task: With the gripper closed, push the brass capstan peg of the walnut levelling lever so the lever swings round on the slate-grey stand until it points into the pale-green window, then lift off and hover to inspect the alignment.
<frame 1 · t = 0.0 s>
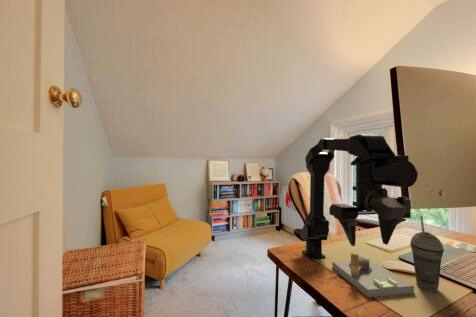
hand: (369, 244, 53), 15 cm above the table, fingers open, 9 cm apart
beverage cup: (427, 287, 60), on the table
cam lever: (358, 259, 65), point 5 cm above the table, hinge at -50.0°
stand base: (368, 278, 64), on the table
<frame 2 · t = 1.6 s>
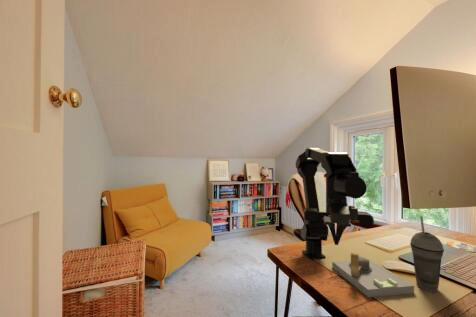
hand: (336, 244, 63), 11 cm above the table, fingers closed
nothing on the table moved.
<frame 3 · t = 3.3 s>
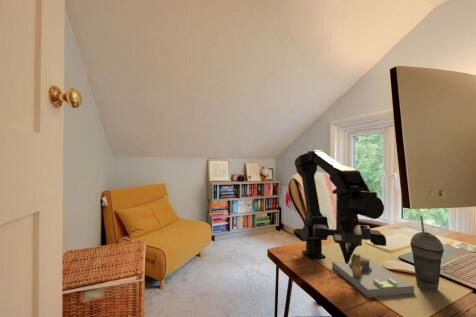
hand: (346, 263, 62), 6 cm above the table, fingers closed
cam lever: (358, 259, 64), point 5 cm above the table, hinge at -46.1°, touching gripper
everything else where it was.
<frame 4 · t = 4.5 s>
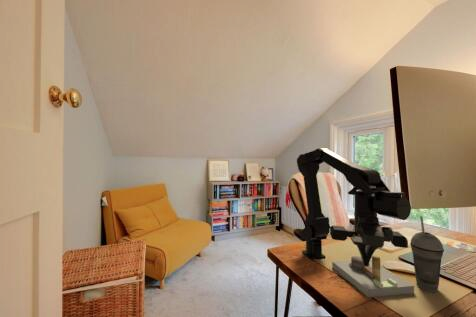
hand: (365, 265, 60), 6 cm above the table, fingers closed
cam lever: (366, 260, 64), point 5 cm above the table, hinge at -3.7°, touching gripper
everything else where it was.
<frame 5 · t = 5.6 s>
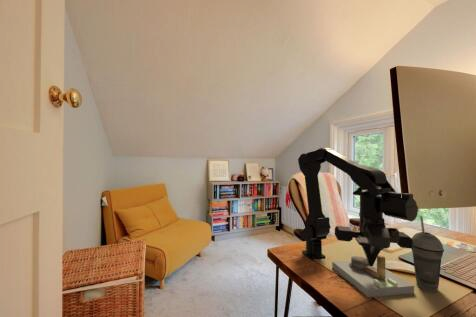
hand: (370, 265, 61), 6 cm above the table, fingers closed
cam lever: (367, 260, 64), point 5 cm above the table, hinge at 10.0°, touching gripper
everything else where it was.
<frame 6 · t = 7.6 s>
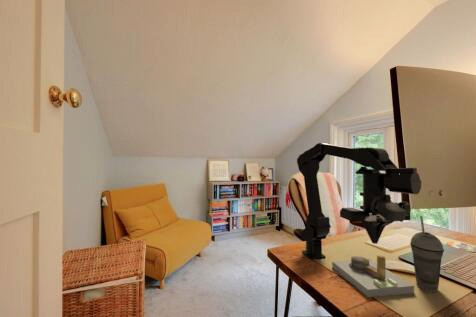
hand: (374, 243, 61), 12 cm above the table, fingers closed
cam lever: (367, 260, 64), point 5 cm above the table, hinge at 10.2°
everything else where it was.
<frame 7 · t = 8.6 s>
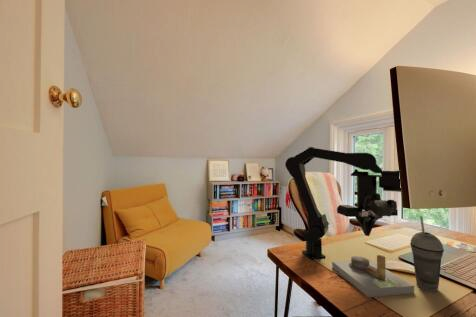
hand: (366, 235, 70), 11 cm above the table, fingers closed
nothing on the table moved.
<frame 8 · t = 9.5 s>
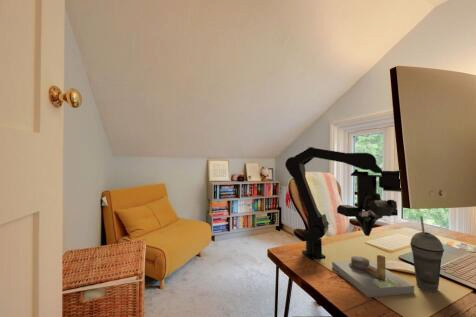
hand: (366, 235, 70), 11 cm above the table, fingers closed
nothing on the table moved.
at the end: cam lever at +10° (first picture: -50°); cam lever touching nothing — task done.
